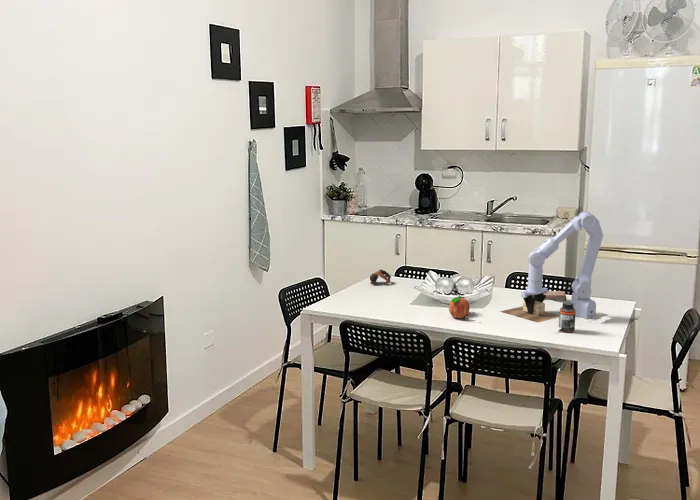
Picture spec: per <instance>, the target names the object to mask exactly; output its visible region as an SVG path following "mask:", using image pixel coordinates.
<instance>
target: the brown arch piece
mask: <svg viewBox="0 0 700 500" xmlns="http://www.w3.org/2000/svg"><path fill="white" fill-rule="evenodd" d="M379 278H381V279H383V280H385V284H384V285H385V286H388V285H389V284H390V282H391V278H392V275H391V274H390V273H389V272H387V271H385V270H384V269H378V271H377V270H376V271H375V272H374V273H372V274H370V275H369V281H370V283H369V284H371V285H373V284H374V285H375V284H376V283H377V281H378V279H379Z"/></svg>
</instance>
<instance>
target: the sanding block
mask: <svg viewBox="0 0 700 500" xmlns="http://www.w3.org/2000/svg"><path fill="white" fill-rule="evenodd" d="M522 306H523V312H527V313H528V311H527V306H526V303H525V301H524V300H523V304H522ZM545 311H546V303H545V302H543V303H541V302H537V301H535V303H534V308H533V313H530V314H534V315H537V316H539V315H543V314H545Z"/></svg>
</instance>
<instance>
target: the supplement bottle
mask: <svg viewBox="0 0 700 500" xmlns="http://www.w3.org/2000/svg"><path fill="white" fill-rule="evenodd" d="M561 305H562V307H560V308H559V315H560V316H559V317H558V328H559V329H558V331H559V332H562V333H566V334H571V333H574V332H575V329H576V317H575V313H576V310H575V309H574V308H573V303H572V302H571V301H567V302H563V303H562V304H561Z"/></svg>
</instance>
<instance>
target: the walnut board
mask: <svg viewBox="0 0 700 500" xmlns="http://www.w3.org/2000/svg"><path fill="white" fill-rule="evenodd" d="M499 312H500V313H503V314H506V315H507V314H508V315H511V316H514V317H517V318H521V319H523V320H528V321H531V322H534V323H542V322H545V321H549V320H553V319H557V318H559V316H560V314H557V313H553V312H550V311H547V310H545V314H543V315H539V316H537V315H534V314H530V313H527V312H523V305H522V306H518V307H513V308H509V309H505V310H500V311H499Z"/></svg>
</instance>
